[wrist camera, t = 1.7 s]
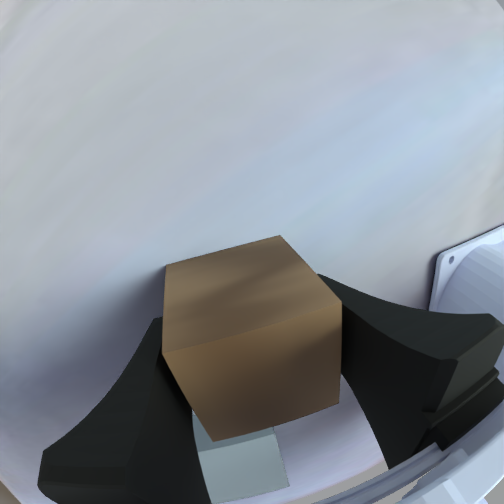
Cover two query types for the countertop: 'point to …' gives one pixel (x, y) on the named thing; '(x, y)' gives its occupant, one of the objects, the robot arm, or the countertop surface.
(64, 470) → the robot arm
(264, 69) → the countertop surface
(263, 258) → the walnut block
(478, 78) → the countertop surface
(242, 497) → the base slab
